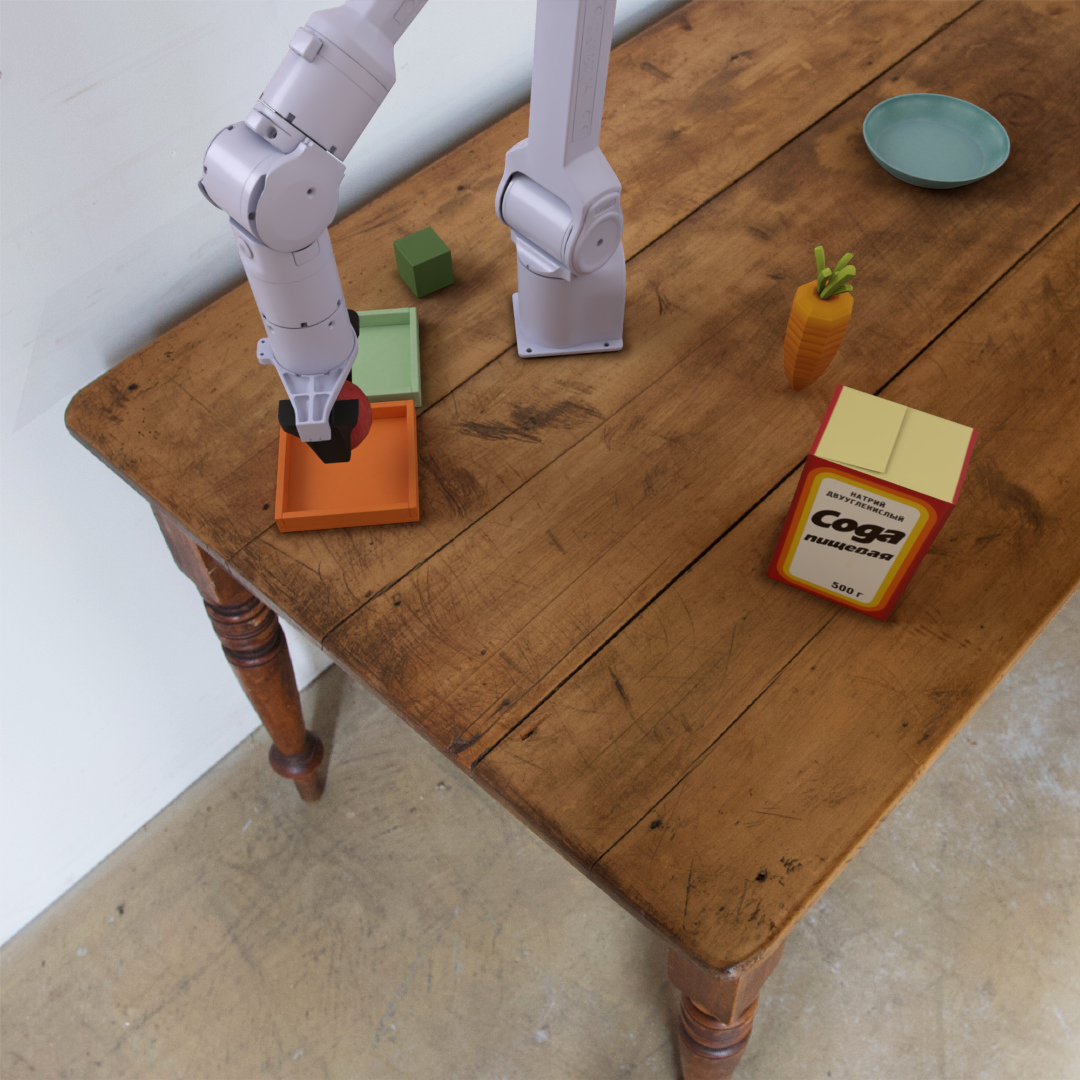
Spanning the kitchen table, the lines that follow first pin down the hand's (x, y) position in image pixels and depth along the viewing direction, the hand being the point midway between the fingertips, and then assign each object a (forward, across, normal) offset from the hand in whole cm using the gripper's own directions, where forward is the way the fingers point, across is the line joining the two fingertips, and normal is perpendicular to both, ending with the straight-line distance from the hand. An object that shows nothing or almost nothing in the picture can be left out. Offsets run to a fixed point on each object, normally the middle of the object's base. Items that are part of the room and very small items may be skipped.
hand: (337, 426), depth 78 cm
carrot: (+6, -5, +39) cm, 40 cm away
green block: (+6, -22, +7) cm, 24 cm away
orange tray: (+6, 0, 0) cm, 6 cm away
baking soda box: (+6, +13, +38) cm, 41 cm away
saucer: (+6, -35, +60) cm, 70 cm away
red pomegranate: (+3, 0, 0) cm, 3 cm away
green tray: (+6, -12, +1) cm, 13 cm away
